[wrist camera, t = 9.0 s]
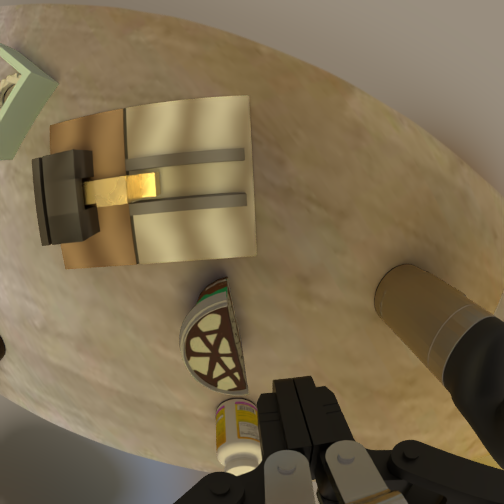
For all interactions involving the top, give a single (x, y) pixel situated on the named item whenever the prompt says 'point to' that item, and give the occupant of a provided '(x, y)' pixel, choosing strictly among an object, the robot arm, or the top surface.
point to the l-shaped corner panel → (21, 100)
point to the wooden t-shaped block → (121, 189)
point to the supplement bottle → (238, 436)
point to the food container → (214, 342)
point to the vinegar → (2, 349)
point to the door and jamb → (171, 184)
